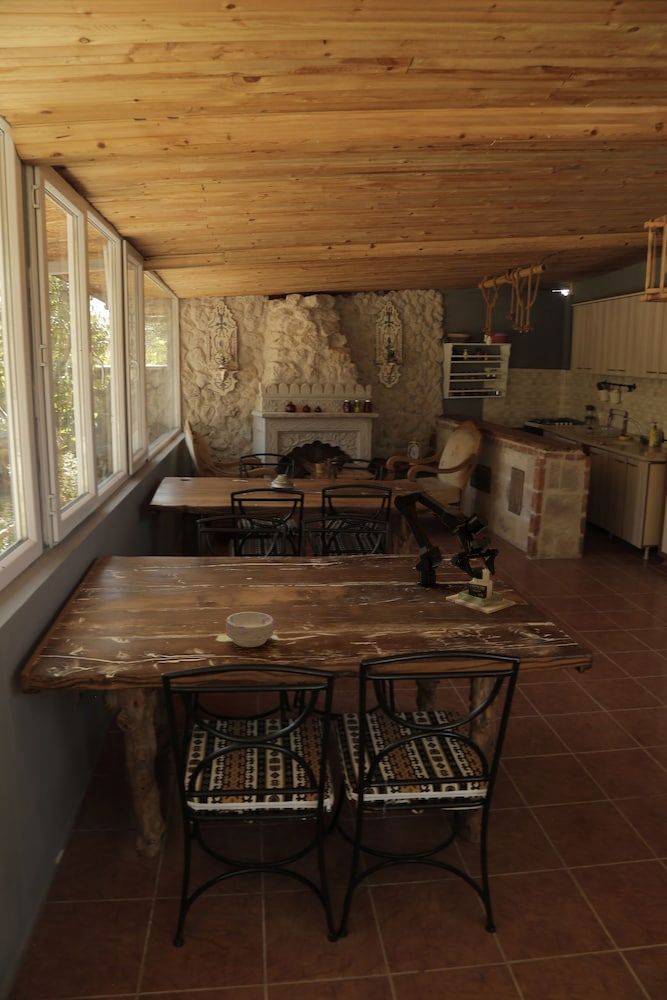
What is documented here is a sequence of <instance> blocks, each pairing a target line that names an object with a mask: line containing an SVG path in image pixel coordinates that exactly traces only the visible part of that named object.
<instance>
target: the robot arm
mask: <svg viewBox="0 0 667 1000" xmlns="http://www.w3.org/2000/svg"><path fill="white" fill-rule="evenodd" d="M417 503H419V504H421V505H422V506H424V507H425V508H427V510H429V511H431V512H433V513H434V514H436V515H437V516H438V517H439V518H440V520H441V521H442V523H443V524H444V525H445V526H446V527H447V528H449V529H453V532H452V533H451V536H452V537H455V538H456V537H457V539H458V540H459V542H460V543H459V544H461V546H460V547H459V548H460V550H463V551H459V552H458V551H457V552H455V554H454V555H453V556H452V557H451V559H450V562H451V565H452V566H453V567H456V568H459V569H460V570H461V571H463V572H465V573H466V574H467V575H468V576H469V577H470V578H472V579H473V578H474V577H475V576H474V573H473V569H472V566H471V564H470V560H475V559H482V560H483V561H484V565H485V566H486V569H488V570H489V571H490V572H489V574H490V573H491V575H492V576H495V574H496V570H495V559H496V558H497V557H498V555H499V554H500V551H499V549H498V548H497V547H489V545H491V544H492V540H491V538H490V536H489V535H487V536H483V537H482V538H475V535H478V534H479V533H481V532H482V531H483V530H485V528H487V527H488V526H489V521H488V518H487V517H485V516H484V515H483V514H482V513H480V512H479V511H475V512H473V513H472V515H471V516H467V515H465V514H464V513H463V512H462V511H460V510H458V509H455V508H451V507H448V506H446V505H445V504H443V503H442V502H440V501H439V500H438V499H435V498H434V497H433V496H432V495H430V494H429V493H427V492H426V491H425V490H418V491H415V492H412V493H402V494H398V495H396V496H395V497H394V500H393V504H394V507H395V509H396V510H397V512H398V513H399V514H401V516H402V517H404V519H405V520H406V523H407V525H408V527H409V528H410V532H411V533H412V535H413V538H414V539H415V540H414V541H415V542H416V545H417V546H418V547H419V559H420V561H418V563H416V564H415V570H416V571H417V572H418V582H420V583H418V584H421V585H420V586H422V585H424V586H423V587H425V586H426V587H425V588H429V587H428V586H430V587H433V586H432V585H434V586H437V585H439V583H438V582H437V574H436V569H439V568H440V565H441V564H442V561H443V556H442V555H443V553H442V552H441V551H440V547H439V546H438V545H435V546H434V544H432V543H431V541H430V539H429V537H428V535H427V533H426V530H425V528H424V526H423V524H422V522H421V520H420V518H419V516H418V514H417ZM454 528H457V529H454ZM486 547H487V548H486ZM485 548H486V550H485ZM484 550H485V551H484ZM483 551H484V552H483ZM418 584H417V585H418ZM436 584H437V585H436Z"/></svg>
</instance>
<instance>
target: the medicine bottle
mask: <svg viewBox="0 0 667 1000" xmlns="http://www.w3.org/2000/svg"><path fill="white" fill-rule="evenodd" d="M472 571H473V573H474V576H475V577H474V578H472V580H470V581H469V582H468V590H469V591H468V595H471V596H474V597H477V598H481V599H485V598H488V597H492V591H493V580H491V579H490V571H489V569H488V568H487V567H475V568H473V569H472Z"/></svg>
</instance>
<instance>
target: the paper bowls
mask: <svg viewBox="0 0 667 1000" xmlns="http://www.w3.org/2000/svg"><path fill="white" fill-rule="evenodd" d="M274 621H275V620H274V617H273V616H272V615H270V614H266V613H264V612H260V611H259V612H257V611H241V612H235V613H233V614H231V615H228V616H227V618H226V620H225V635H226V636H227V637H228V638H230V639H231V640H232V642H233V644H236V645H237V646H238V647H242V648H255V647H256V648H257V647H260V646H263V645H264V644H265V643H266V642H267V640H268V639H271V638H272V636H274V631H275V626H274V624H275V622H274Z"/></svg>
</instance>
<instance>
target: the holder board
mask: <svg viewBox="0 0 667 1000" xmlns="http://www.w3.org/2000/svg"><path fill="white" fill-rule="evenodd" d="M468 591H469V589H466V590H462V591H459V592H458V593H457V594H453V595H449V596H446V597H445V601H449V602H452V603H454V602H455V603H454V604H457V605H460V606H464V607H467V608H470V609H473V610H476V611H479V612H482V613H485V614H491V613H495V612H497V611H500V610H503V609H506V608H510V607H512V606H515V605H516V601H513V600H509V599H506V598H504V596H503V595H504V594H503V593H502V592H497V591H493V590H492V597H488V598H485V599H481V598H477V597H474V596H471V595H468Z"/></svg>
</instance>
